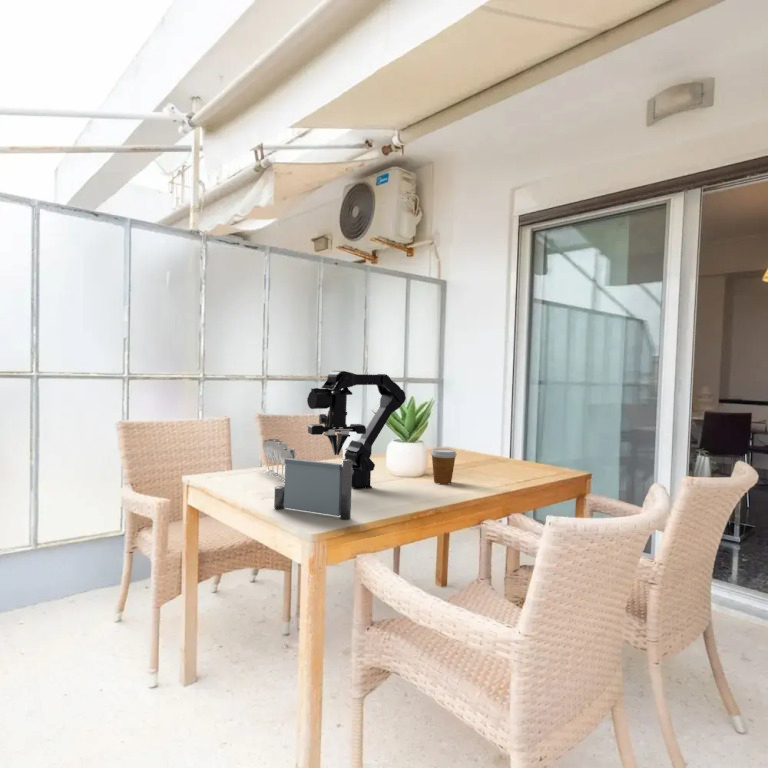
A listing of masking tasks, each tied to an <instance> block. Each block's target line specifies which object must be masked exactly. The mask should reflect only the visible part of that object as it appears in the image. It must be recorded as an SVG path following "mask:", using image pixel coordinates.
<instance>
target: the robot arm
mask: <svg viewBox="0 0 768 768" xmlns="http://www.w3.org/2000/svg"><path fill="white" fill-rule="evenodd" d="M354 386H377V390H378V393H379V394H380V395H381V397H380V398H379V399H380V400H379V407H378V409H377V411H376V412H375V414H374V415H373V417H372V418H371V420H370V421H369V423H368V425H367V427H366V426H365V425H364V424H361V423H350V425H349V426H348V424H347V416H348V412H347V401H348V400H347V399H348V398H347V397H348V396H352V395H353V392H352V391H351V390H350V389H349V388H351V387H354ZM406 400H407V397H406V392H405V391H404V389H402V388H401V387H400V386H399V385H398V383H397V382H395V381H394V380H392V378H391V377H390V376H389V375H387V374H385V373H377V374H366V373H365V374H363V373H362V374H361V373H360V374H359V373H357V374H356V373H353V372H350V371H345V370H331V371H330V372H329V373H328V375H327V378H326V380H325V381H324V383H323V384H322V385H321V387H320V388H318V387H311V389H310V392H309V393H308V396H307V399H306V401H307V405H308V408H309V409H311V410H322V409H323V410H325V409H326V410H327V409H328V411H327V415H326V414H324V413H323V414H322V413H320V414H319V416H318V422H319V423H318V424H309V425H308V426H307V433H308V434H310V435H313V436H314V435H322V434H323V435H324V436H325V437H327V439H328V440H329V442H330V445H331V449H332V452H333V455H334V456H338V455H340V453H341V450H342V449H343V446H344V444H345V442H346V441H347V439H348V437H351V434H350V433H351V432H352V433H356V434H357V435H361V436H360V438H359V439H358V440H351V441H350V442H349V443H348V444H349V445H348V447H346V448H345V449H344V451H345V453H344V459H350V460H352V485H351V488H353V489H354V490H358V489H360V490H361V489H372V488H373V486H372V485H371V479H372V478H371V477H372V476H371V475H372V471H374V469H375V467H376V464H375V463H374V461H372V459H371V456H372V451H373V450H372V449H373V445H374V443H375V441H376V440H377V438H378V437H379V435H380V433H381V432H382V430H383V428H384V427H385V425H386V423H388V420H389V419H390V417H391V416H392V414H393V413H394V412H396V411H397V410H399V409H400V408H401V407H402V405H403V404H404V403H405V402H406ZM336 433H337V434H336Z"/></svg>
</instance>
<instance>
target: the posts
mask: <svg viewBox="0 0 768 768" xmlns="http://www.w3.org/2000/svg"><path fill="white" fill-rule="evenodd" d="M341 464H342V477H341V510H340V516H339V517H340V518H339V519H340V520H343V521H345V520H347V521H348V520H351V514H352V513H351V510H352V507H351V506H352V487H351V485H352V460H350V459H345V458H344V459H341ZM284 492H285V486H282V485H281V486H280V485H279V486H278V485H277V486H275V487H274V502H273V503H274V505H273V507H274V508H275V509H274V510H284V509H285V508H284Z"/></svg>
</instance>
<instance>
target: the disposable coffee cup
mask: <svg viewBox="0 0 768 768" xmlns="http://www.w3.org/2000/svg"><path fill="white" fill-rule="evenodd" d="M430 455H431V461H432V472H433V475H432V476H433V482H434V483H435V484H437V483H440V484H439V485H449V484H448V483H451V484H452V481H453V473H454V469H455V460H456V458H457V451H456V450H455V449H453V448H451V449H450V448H433V449H432V450H431V452H430Z"/></svg>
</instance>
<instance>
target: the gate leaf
mask: <svg viewBox="0 0 768 768" xmlns="http://www.w3.org/2000/svg"><path fill="white" fill-rule="evenodd" d="M341 477H342V463H337V462H329V461H328V462H327V461H319V460H317V461H316V460H308V459H298V458H296V459H291V458H287V459H285V465H284V479H285V481H284V482H285V485H284V487H285V492H284V509H290V510H295V511H303V512H309V513H316V514H322V515H329V516H334V517H335V516H336V517H340V510H341Z"/></svg>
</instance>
